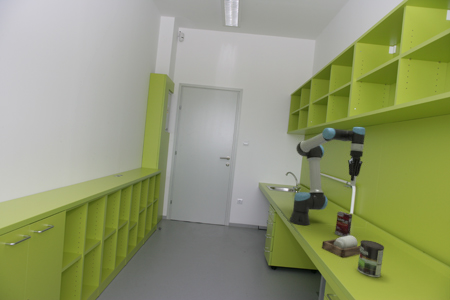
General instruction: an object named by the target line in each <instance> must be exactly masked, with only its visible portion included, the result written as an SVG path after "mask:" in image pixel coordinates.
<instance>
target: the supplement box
mask: <svg viewBox="0 0 450 300" xmlns="http://www.w3.org/2000/svg"><path fill="white" fill-rule="evenodd" d="M336 214H337V215H336V222H335V223H336V224H335V230H334V234H335V235H337V236H340V237H344V236H348V235H351V227H352V219H353V214H352V213H347V212H345V211H337V212H336Z"/></svg>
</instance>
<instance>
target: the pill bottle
mask: <svg viewBox="0 0 450 300" xmlns="http://www.w3.org/2000/svg"><path fill="white" fill-rule="evenodd" d="M335 239H336V241H335V242H334V245H335V246H337V247H339V248H341V249H347V248H352V247H356V246H358V240H357V238H356V237H355V236H353V235H351V234H350V235H348V236H344V237H343V236H340V237H338V238H335Z"/></svg>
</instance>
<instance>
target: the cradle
mask: <svg viewBox="0 0 450 300" xmlns="http://www.w3.org/2000/svg"><path fill="white" fill-rule="evenodd" d="M336 239H337V238H335V239H328V240H323V241H322V244H321V248H322V249H323V250H326V251H327V252H329V253H332V254H334V255H335V256H338V257H341V258H343V259H344V258H349V257H353V256H357V255H359V253H360V245H357V246H356V247H352V248H347V249H341V248H339V247H337V246H335V245H334V242H335V241H336Z"/></svg>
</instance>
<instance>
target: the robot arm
mask: <svg viewBox="0 0 450 300" xmlns="http://www.w3.org/2000/svg"><path fill="white" fill-rule="evenodd" d="M365 137H366V128H365V127H362V126H354V127H352V130H350V129H349V130H347V129H340V128H339V129H338V128H332V127H325V128H324V129H323V130H322V132H320V133H319V134H317V135H315V136H313V137H310V138H308V139H306V140H302V141H300V142H298V143H297V144H296V152H297V154H298V155H299V156H301V157H306V161H308V170H309V171H308V172H309V173H308V175H309V192H307V191H300V192H296V193H295V194H294V197H293V207H292V209H293V210H292V213H291V214H290V218H289V222H290V223H292V224H295V225H300V226H310V224H311V223H310V222H311V221H310V216H309V211H310V210H313V211H315V210H316V211H320V210H325V209H326V207H327V206H328V202H329V201H328V200H329V199H328V197H327V196H326V195H325V194H324V191H323V189H322V175H321V160H322V158H323V157H324V155H325V148H324V146H323V145H324V144H326V143H328V142H331V141H333V140H334V141H341V142H351V143H350V151H349V156H350V159H349V160H347V162H348V175H349V176H350V182H349V183H350V185H349V186H353V187H356V182H357V177H358V176H359V175H360V172H361V168H362V164H363V161H362V160H361V159H362V157H363V154H364V147H365V146H364V144H365Z"/></svg>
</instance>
